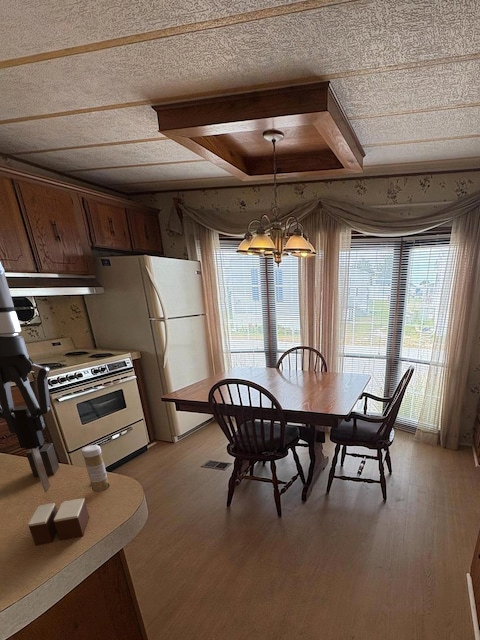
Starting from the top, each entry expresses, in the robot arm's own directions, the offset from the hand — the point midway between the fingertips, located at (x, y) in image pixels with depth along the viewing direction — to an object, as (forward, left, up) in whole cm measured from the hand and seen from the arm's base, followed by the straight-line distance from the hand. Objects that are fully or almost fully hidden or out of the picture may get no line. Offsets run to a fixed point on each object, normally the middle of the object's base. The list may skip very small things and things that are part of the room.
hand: (32, 444), depth 75 cm
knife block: (-32, -10, -23) cm, 41 cm away
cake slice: (0, -2, -23) cm, 24 cm away
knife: (0, 0, -11) cm, 11 cm away
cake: (0, +3, -23) cm, 24 cm away
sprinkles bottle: (-19, +6, -24) cm, 31 cm away
